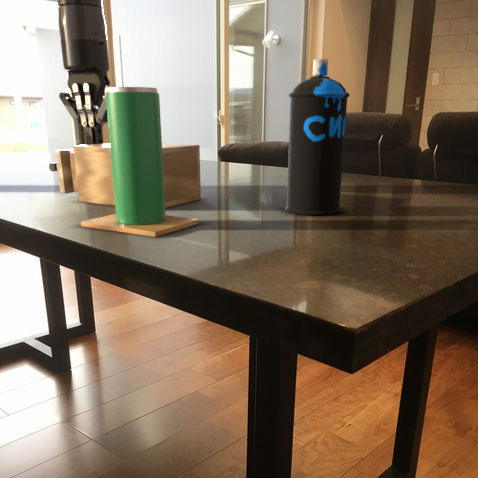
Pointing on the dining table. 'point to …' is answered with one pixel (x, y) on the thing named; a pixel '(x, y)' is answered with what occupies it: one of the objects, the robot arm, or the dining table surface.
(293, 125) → the aerosol can
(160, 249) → the dining table surface
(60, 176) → the drawer
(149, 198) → the green can
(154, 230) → the cork mat
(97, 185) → the cabinet
